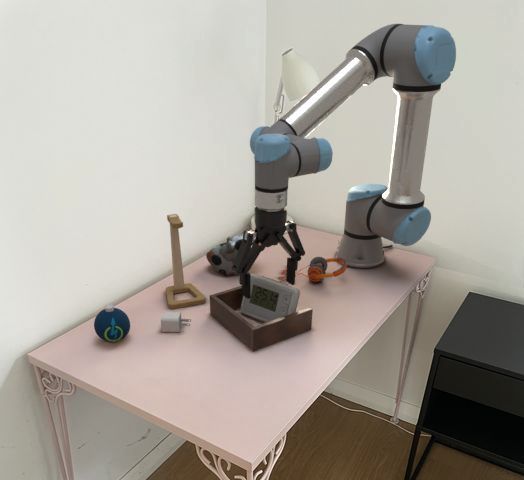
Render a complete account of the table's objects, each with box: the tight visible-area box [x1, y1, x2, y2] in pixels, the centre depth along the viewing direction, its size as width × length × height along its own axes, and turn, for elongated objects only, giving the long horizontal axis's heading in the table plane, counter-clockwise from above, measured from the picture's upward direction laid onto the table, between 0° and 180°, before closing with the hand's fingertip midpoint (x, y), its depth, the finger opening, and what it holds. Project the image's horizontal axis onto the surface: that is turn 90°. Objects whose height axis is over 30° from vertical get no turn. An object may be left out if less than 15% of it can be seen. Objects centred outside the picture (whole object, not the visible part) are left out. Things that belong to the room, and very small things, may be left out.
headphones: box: [278, 256, 348, 285], centre depth 160 cm, size 17×5×20 cm
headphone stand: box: [165, 213, 207, 310], centre depth 144 cm, size 10×11×22 cm
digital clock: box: [240, 272, 301, 324], centre depth 138 cm, size 16×9×11 cm, turn 42°
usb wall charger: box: [160, 311, 192, 333], centre depth 135 cm, size 4×7×4 cm, turn 88°
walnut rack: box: [208, 285, 314, 352], centre depth 138 cm, size 18×20×6 cm
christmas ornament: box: [93, 304, 131, 343], centre depth 129 cm, size 8×8×10 cm
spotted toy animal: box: [205, 234, 261, 277], centre depth 162 cm, size 15×12×14 cm
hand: (268, 289), depth 136 cm, fingers open, 13 cm apart
